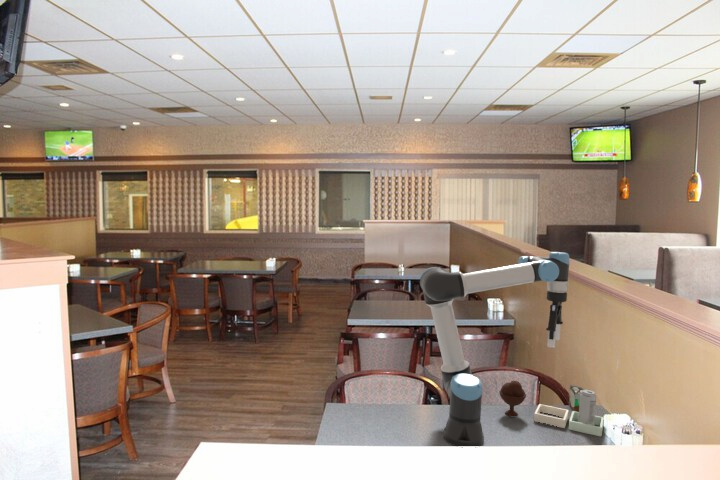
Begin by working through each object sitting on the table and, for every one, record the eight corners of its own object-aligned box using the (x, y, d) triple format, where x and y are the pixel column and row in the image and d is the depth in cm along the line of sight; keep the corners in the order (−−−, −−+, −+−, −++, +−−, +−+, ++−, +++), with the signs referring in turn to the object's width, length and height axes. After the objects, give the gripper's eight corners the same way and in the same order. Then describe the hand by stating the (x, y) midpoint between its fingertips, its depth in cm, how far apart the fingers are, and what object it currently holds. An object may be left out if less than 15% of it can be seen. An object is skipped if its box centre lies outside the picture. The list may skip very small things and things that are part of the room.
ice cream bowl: (527, 413, 221) (529, 379, 220) (520, 421, 212) (522, 386, 211) (503, 407, 227) (504, 374, 226) (495, 415, 217) (497, 380, 216)
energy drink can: (582, 423, 213) (585, 387, 212) (596, 428, 208) (599, 392, 207) (575, 426, 209) (577, 390, 208) (589, 432, 204) (591, 395, 203)
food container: (589, 418, 218) (591, 395, 217) (574, 416, 219) (575, 394, 218) (582, 407, 230) (584, 385, 229) (568, 405, 231) (569, 384, 230)
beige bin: (533, 421, 213) (534, 413, 212) (538, 411, 223) (539, 403, 223) (564, 428, 207) (565, 420, 207) (568, 418, 218) (568, 410, 217)
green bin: (568, 429, 206) (569, 420, 206) (571, 418, 217) (572, 410, 217) (601, 436, 201) (602, 428, 200) (603, 425, 211) (603, 417, 211)
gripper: (563, 296, 191) (559, 352, 192) (570, 288, 213) (567, 338, 214) (542, 294, 194) (538, 348, 196) (551, 286, 216) (548, 335, 218)
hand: (553, 343), depth 205 cm, fingers open, 13 cm apart
